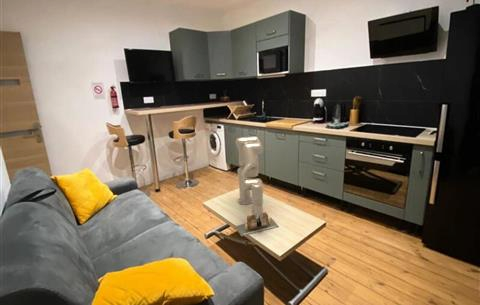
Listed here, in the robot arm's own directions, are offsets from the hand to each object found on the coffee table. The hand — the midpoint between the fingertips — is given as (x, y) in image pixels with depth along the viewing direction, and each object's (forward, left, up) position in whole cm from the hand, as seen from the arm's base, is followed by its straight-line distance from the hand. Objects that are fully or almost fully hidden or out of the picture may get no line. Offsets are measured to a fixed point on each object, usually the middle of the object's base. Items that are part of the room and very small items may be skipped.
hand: (257, 224), depth 165 cm
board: (-1, 0, -4) cm, 4 cm away
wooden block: (0, 0, -1) cm, 1 cm away
